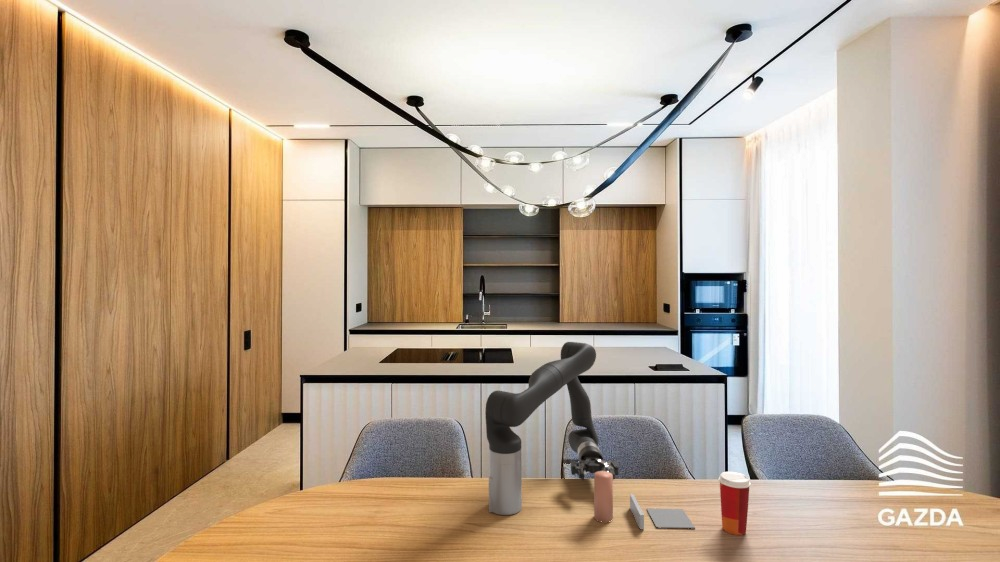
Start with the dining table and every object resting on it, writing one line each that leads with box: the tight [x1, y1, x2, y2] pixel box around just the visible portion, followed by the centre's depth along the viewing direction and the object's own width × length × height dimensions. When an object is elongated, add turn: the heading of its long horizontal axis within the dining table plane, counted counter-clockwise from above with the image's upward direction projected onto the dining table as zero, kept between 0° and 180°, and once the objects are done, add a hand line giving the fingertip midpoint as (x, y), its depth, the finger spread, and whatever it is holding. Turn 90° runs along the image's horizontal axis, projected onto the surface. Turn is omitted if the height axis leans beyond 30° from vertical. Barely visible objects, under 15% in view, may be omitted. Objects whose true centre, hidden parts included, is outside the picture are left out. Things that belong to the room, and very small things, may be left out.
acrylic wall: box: [629, 493, 645, 530], centre depth 136 cm, size 1×12×4 cm, turn 178°
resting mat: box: [646, 508, 696, 530], centre depth 136 cm, size 10×10×1 cm
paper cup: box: [717, 471, 752, 536], centre depth 130 cm, size 8×8×14 cm
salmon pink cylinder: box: [593, 470, 614, 523], centre depth 137 cm, size 5×5×12 cm
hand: (597, 477), depth 147 cm, fingers open, 8 cm apart
